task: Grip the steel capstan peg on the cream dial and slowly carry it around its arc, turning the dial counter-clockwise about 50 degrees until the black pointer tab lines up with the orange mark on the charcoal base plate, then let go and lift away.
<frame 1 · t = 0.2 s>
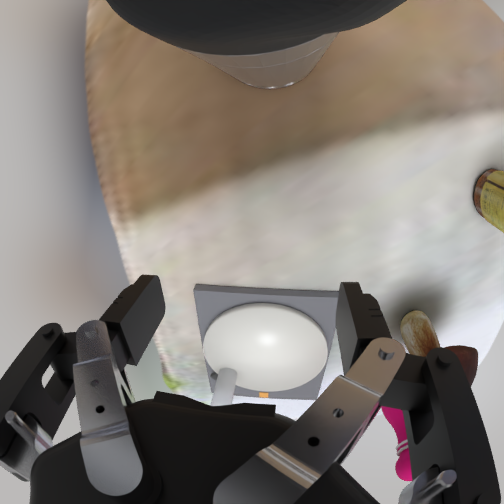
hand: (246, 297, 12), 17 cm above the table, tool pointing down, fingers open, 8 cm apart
pepper mill: (397, 379, 40), on the table
dial base: (265, 350, 38), on the table
cam dial: (257, 373, 33), point 5 cm above the table, hinge at -50.0°
sauce bottle: (489, 190, 24), on the table
decorative mushroom: (409, 316, 33), on the table
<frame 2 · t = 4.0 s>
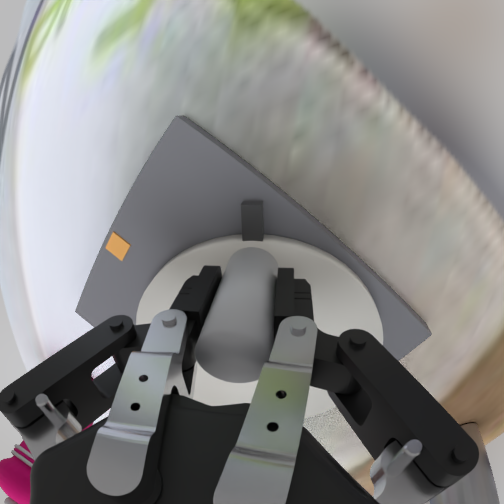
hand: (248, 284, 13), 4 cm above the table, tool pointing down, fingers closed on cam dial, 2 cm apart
pepper mill: (81, 380, 27), on the table
dial base: (242, 322, 19), on the table
cam dial: (250, 380, 15), point 5 cm above the table, hinge at -50.0°, touching gripper
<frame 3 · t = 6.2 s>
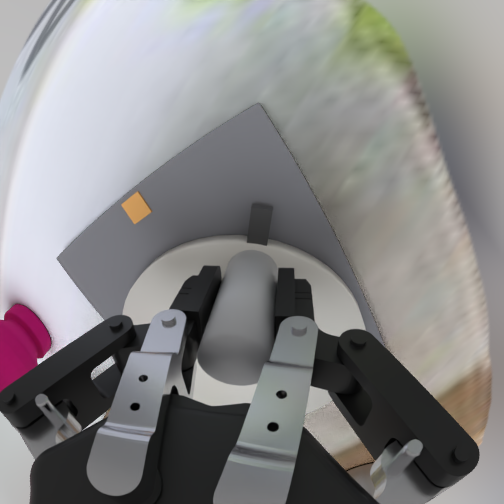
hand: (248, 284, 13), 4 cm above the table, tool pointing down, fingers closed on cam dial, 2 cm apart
pepper mill: (32, 326, 24), on the table
dial base: (232, 318, 19), on the table
cam dial: (235, 380, 15), point 5 cm above the table, hinge at -38.8°, touching gripper
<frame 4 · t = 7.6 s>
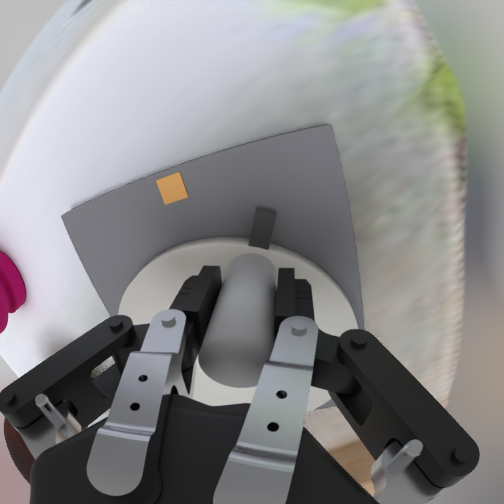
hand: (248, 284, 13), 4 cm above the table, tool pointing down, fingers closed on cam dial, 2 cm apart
pepper mill: (8, 277, 21), on the table
dial base: (231, 318, 19), on the table
cam dial: (229, 381, 15), point 5 cm above the table, hinge at -26.9°, touching gripper
decorative mushroom: (91, 380, 26), on the table
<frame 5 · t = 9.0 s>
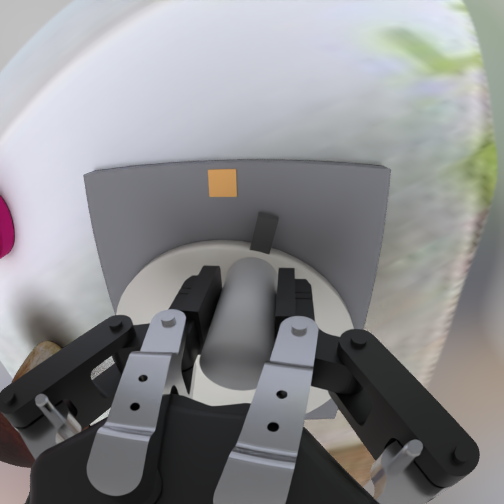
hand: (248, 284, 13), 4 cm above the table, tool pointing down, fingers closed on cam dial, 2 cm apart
dial base: (234, 320, 19), on the table
cam dial: (226, 383, 15), point 5 cm above the table, hinge at -13.6°, touching gripper
decorative mushroom: (60, 347, 24), on the table
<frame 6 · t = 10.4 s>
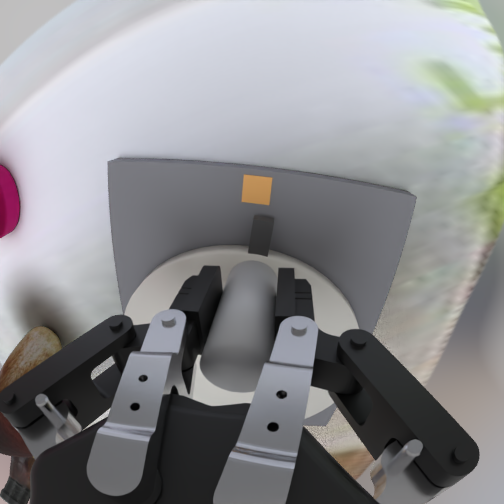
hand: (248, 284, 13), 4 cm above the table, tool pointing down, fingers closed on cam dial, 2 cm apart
pepper mill: (2, 198, 17), on the table
dial base: (244, 324, 19), on the table
cam dial: (233, 386, 15), point 5 cm above the table, hinge at -3.1°, touching gripper
sauce bottle: (62, 408, 31), on the table
decorative mushroom: (54, 333, 23), on the table
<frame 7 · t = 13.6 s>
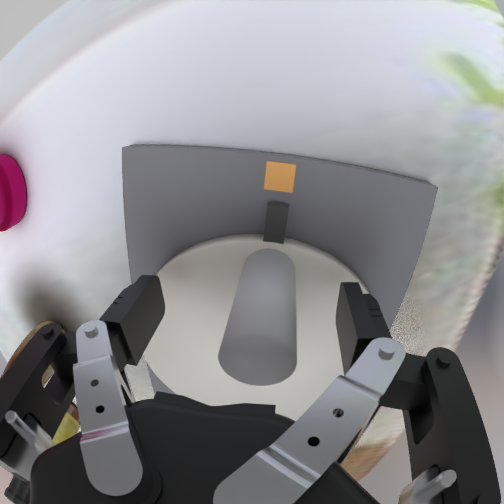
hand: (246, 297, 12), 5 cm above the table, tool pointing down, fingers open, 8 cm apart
pepper mill: (8, 188, 17), on the table
dial base: (261, 317, 19), on the table
cam dial: (252, 380, 15), point 5 cm above the table, hinge at -0.5°
sauce bottle: (68, 405, 32), on the table
decorative mushroom: (61, 328, 23), on the table
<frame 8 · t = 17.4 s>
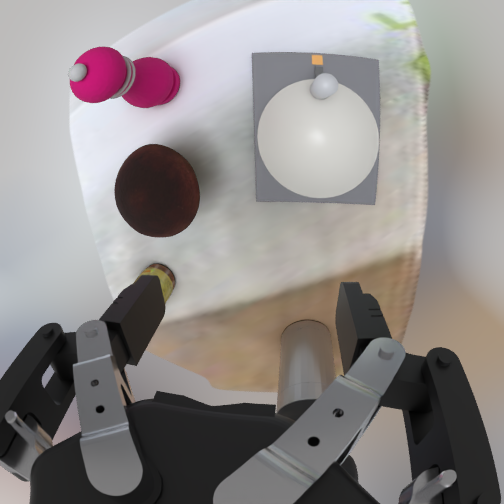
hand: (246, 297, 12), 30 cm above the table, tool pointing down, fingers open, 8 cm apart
pepper mill: (160, 85, 35), on the table
dial base: (317, 126, 36), on the table
cam dial: (322, 132, 32), point 5 cm above the table, hinge at -0.5°
sauce bottle: (160, 277, 50), on the table
decorative mushroom: (185, 173, 41), on the table
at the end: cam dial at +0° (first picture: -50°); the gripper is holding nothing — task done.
